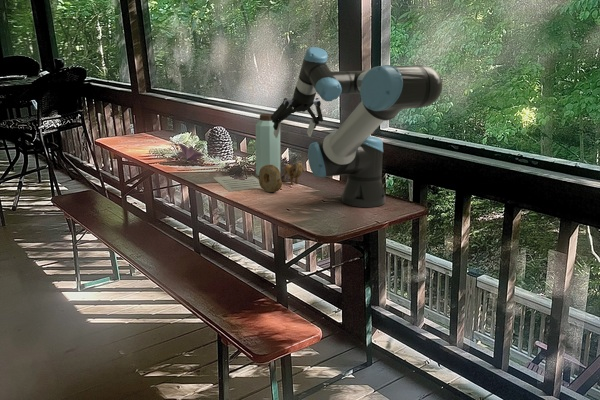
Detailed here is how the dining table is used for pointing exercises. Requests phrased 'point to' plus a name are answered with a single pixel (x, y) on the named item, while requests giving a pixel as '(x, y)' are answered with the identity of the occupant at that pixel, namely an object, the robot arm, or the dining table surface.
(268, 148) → the water bottle
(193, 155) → the lily
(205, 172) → the dining table surface
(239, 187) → the letter
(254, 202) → the dining table surface
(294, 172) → the lion figurine
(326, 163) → the robot arm
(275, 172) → the stone disc
